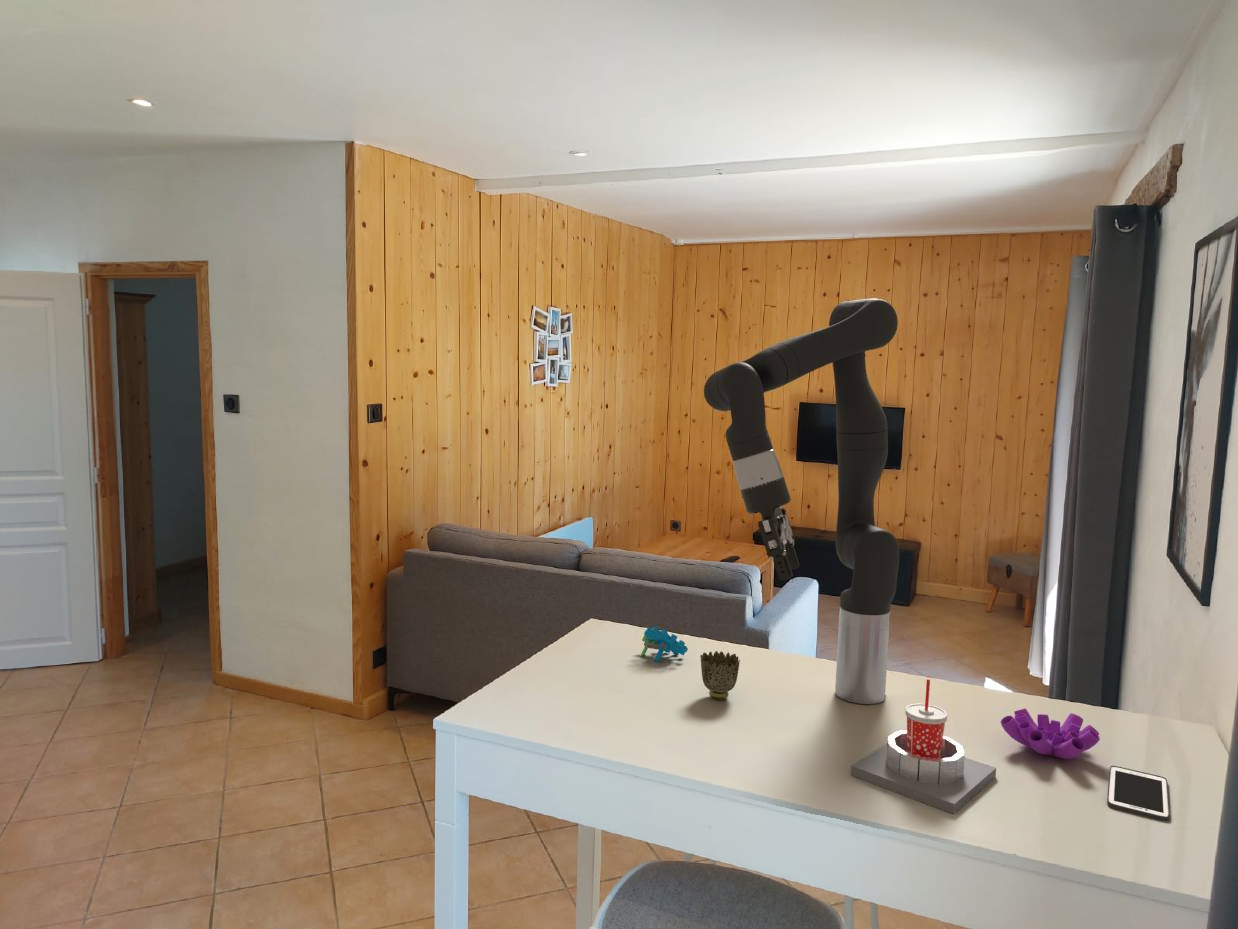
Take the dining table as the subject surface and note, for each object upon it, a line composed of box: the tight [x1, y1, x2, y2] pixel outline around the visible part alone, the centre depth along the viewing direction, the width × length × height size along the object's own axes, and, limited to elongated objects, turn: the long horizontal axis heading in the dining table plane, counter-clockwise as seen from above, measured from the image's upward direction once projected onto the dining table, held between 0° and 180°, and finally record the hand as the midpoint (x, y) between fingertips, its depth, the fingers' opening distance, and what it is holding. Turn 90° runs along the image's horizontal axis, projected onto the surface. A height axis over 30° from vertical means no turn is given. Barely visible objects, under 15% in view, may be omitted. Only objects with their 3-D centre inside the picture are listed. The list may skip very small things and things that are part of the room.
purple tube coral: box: [1000, 708, 1101, 760], centre depth 140 cm, size 11×15×10 cm
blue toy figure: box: [640, 626, 688, 663], centre depth 182 cm, size 11×6×10 cm
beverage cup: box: [904, 678, 948, 759], centre depth 130 cm, size 6×6×14 cm
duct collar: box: [886, 729, 966, 785], centre depth 131 cm, size 11×11×4 cm
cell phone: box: [1106, 765, 1171, 822], centre depth 127 cm, size 8×15×1 cm, turn 149°
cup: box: [700, 650, 741, 701], centre depth 160 cm, size 8×7×8 cm
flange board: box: [850, 742, 997, 815], centre depth 131 cm, size 16×16×2 cm
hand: (790, 574), depth 141 cm, fingers open, 8 cm apart
